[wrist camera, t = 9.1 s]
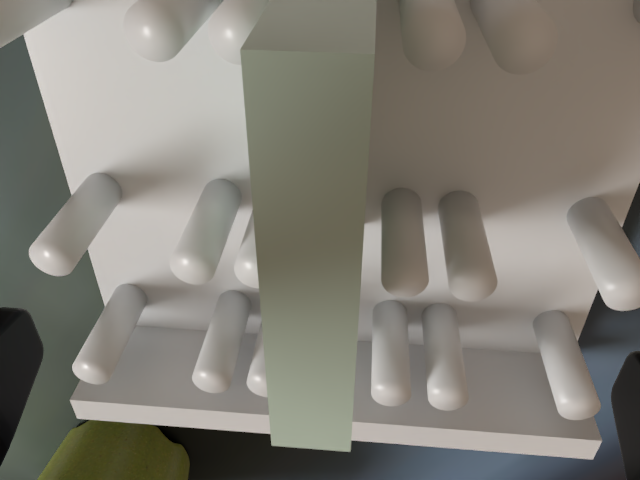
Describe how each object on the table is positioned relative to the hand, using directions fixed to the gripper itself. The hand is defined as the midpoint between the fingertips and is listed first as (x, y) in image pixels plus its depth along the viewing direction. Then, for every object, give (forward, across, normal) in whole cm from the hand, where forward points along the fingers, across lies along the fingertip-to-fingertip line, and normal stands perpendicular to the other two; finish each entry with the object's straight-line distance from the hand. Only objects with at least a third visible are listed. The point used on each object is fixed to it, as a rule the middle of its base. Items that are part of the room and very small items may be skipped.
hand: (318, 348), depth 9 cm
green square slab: (+9, 0, 0) cm, 9 cm away
